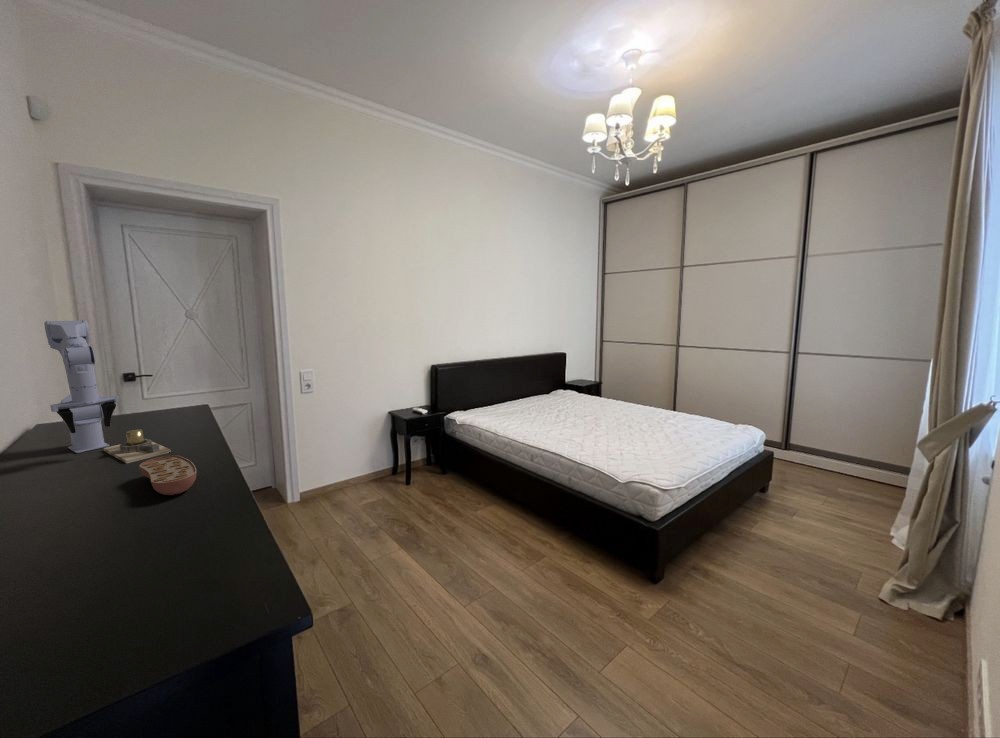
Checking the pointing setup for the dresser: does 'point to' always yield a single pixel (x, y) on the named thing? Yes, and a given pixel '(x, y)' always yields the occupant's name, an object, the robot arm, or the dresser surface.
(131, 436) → the cylinder
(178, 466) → the anatomical model
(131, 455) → the coupling plate
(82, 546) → the dresser surface
